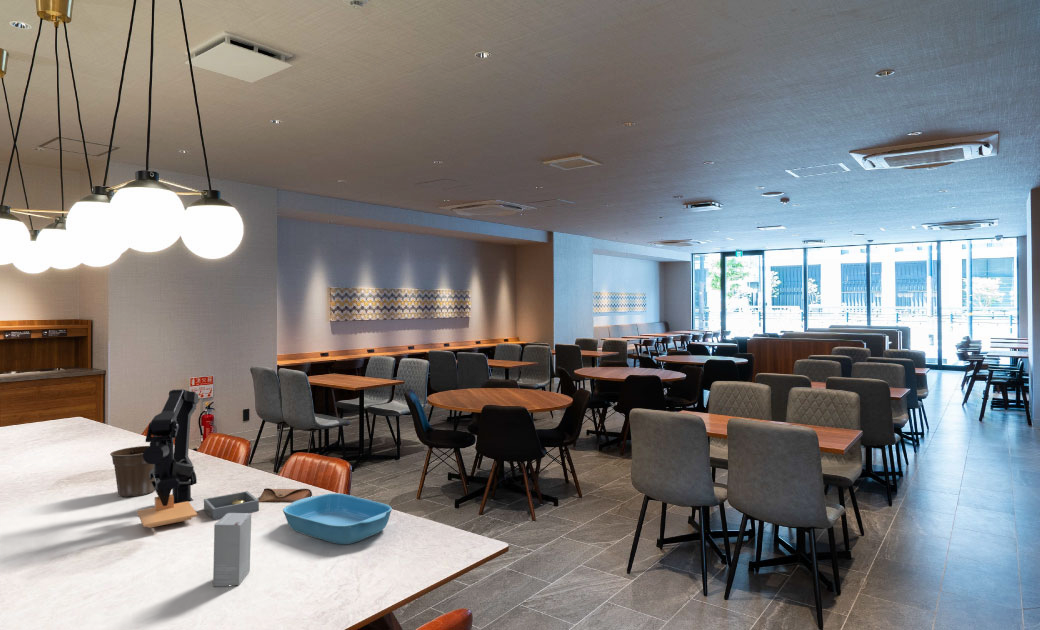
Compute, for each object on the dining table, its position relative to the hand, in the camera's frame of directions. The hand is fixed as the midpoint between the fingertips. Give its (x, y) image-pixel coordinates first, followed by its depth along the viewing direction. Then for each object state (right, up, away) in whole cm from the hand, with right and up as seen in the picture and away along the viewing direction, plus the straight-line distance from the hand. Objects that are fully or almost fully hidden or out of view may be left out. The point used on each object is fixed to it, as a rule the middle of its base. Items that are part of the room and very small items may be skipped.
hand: (164, 504), depth 197 cm
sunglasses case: (+31, -5, +19) cm, 37 cm away
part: (+19, -4, +12) cm, 23 cm away
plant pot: (-28, -5, +31) cm, 42 cm away
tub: (+18, -5, +8) cm, 20 cm away
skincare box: (+44, -5, -45) cm, 63 cm away
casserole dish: (+60, -5, -10) cm, 61 cm away
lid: (+3, -3, -4) cm, 6 cm away
